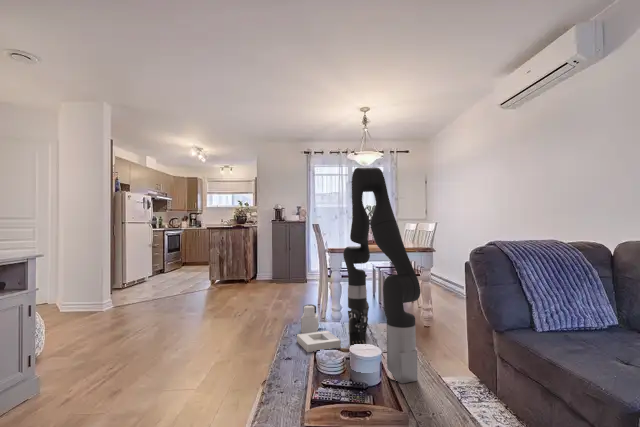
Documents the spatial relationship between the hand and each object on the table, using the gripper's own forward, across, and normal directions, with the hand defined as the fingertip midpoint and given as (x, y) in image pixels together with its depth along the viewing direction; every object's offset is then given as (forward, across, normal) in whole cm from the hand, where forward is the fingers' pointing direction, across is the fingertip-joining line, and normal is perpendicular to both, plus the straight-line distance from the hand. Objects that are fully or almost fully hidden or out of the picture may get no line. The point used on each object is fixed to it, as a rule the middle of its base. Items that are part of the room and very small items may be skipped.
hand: (357, 338), depth 149 cm
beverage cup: (+4, +18, -11) cm, 22 cm away
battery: (+3, 0, 0) cm, 3 cm away
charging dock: (+4, +10, +13) cm, 17 cm away
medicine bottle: (+4, +29, +10) cm, 31 cm away
